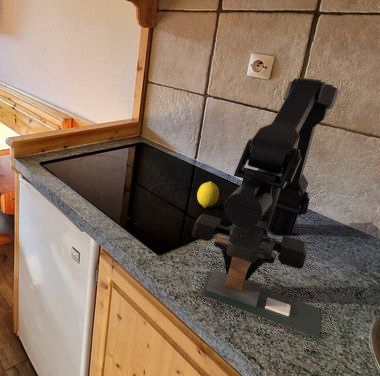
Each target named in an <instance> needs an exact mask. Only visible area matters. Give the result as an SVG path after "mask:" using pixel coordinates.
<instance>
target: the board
mask: <svg viewBox="0 0 380 376" xmlns="http://www.w3.org/2000/svg"><path fill="white" fill-rule="evenodd" d="M212 273H213V271H211V272H210V274H209V276H208V278H207V281H206V283H205V285H204V287H203V290H202V291H201V294H200V295H201V296H203V297H205V298H208V299H211V300H214V301H216V302H219V303H222V304H224V305H227V306H230V307H233V308H236V309H239V310H241V311H242V312H243V311H244V312H246V313H249V314H251V315H255V316H257V317H260V318H263V319H265V320H268V321H271V322H274V323H276V324H279V325H282V326H284V327H287V328H290V329H293V330H295V331H298V332H300V333H304V334H305V335H309V336H312V337H314V338H317V339H321V321H322V319H321V318H322V308H321V307H317V306H315V305H312V304H309V303H305V302H302V301H299V300H297V299H294V298H292V297H291V298H290V297H288V296H285V295H282V294H279V293H275V292H273V291H271V290H267V289H264V288H261V291H260V295H259V299H258V302H257V305H256V307H254V306H251V305H248V304H245V303H242V302H239V301H237V300H234V299H231V298H228V297H225V296H222V295H219V294H217V293H214V292H211V291H208V290H207V286H208V282H209V280H210V277H211V275H212ZM267 297H268V298H271V299H274V300H277V301H280V302H283V303H285V304H288V305H291V307H290V314H289V316H286V315H283V314H281V313H278V312H275V311H272V310H269V309H267V308H265V305H266V300H267Z"/></svg>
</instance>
